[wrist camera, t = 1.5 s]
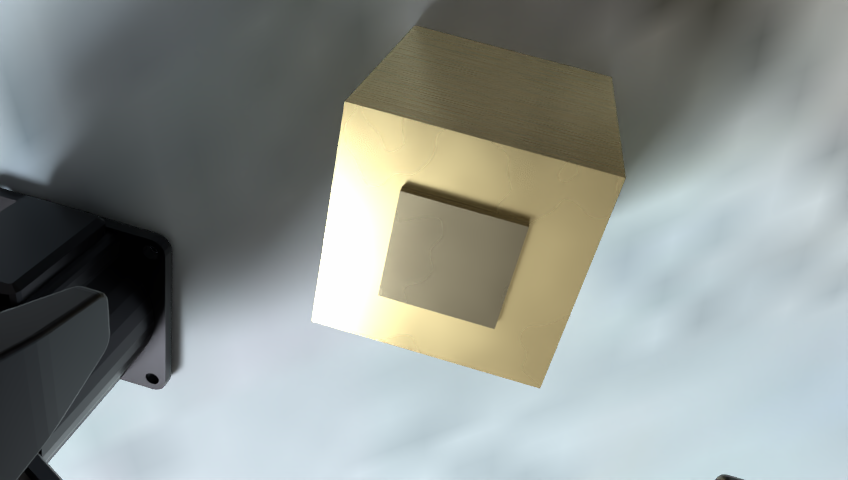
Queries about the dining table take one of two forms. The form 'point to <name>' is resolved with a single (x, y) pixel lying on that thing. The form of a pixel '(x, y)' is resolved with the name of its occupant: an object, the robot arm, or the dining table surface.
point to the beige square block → (468, 203)
